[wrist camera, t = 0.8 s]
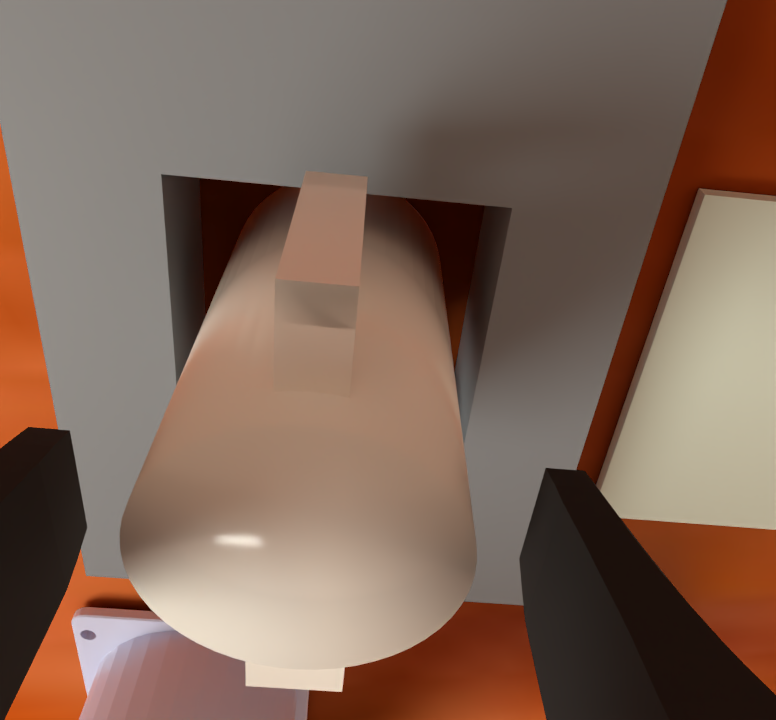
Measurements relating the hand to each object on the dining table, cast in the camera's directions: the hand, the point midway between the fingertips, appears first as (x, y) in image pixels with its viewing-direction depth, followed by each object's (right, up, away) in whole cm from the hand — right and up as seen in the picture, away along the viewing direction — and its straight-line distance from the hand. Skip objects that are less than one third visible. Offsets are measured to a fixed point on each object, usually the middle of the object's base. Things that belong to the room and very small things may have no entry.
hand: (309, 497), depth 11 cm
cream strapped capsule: (0, +4, +6) cm, 8 cm away
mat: (+12, +2, +8) cm, 14 cm away
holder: (0, +4, +6) cm, 8 cm away
